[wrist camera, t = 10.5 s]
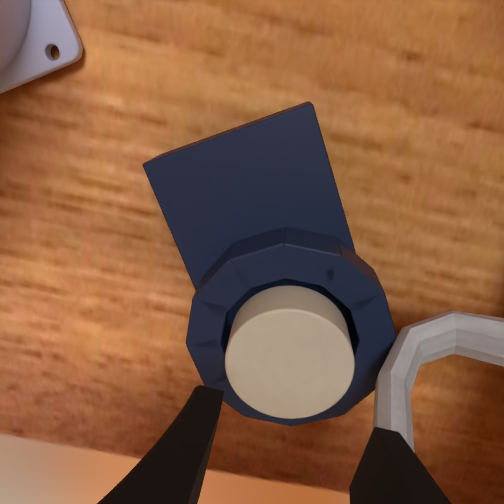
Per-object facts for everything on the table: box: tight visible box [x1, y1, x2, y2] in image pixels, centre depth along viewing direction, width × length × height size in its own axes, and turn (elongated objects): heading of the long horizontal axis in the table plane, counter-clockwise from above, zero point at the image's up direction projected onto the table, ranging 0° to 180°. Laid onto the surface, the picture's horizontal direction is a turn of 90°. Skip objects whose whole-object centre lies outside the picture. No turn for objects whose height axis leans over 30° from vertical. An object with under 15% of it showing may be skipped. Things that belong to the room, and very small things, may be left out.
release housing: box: [143, 101, 397, 426], centre depth 16 cm, size 7×10×4 cm, turn 19°
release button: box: [225, 286, 355, 419], centre depth 14 cm, size 4×4×2 cm
